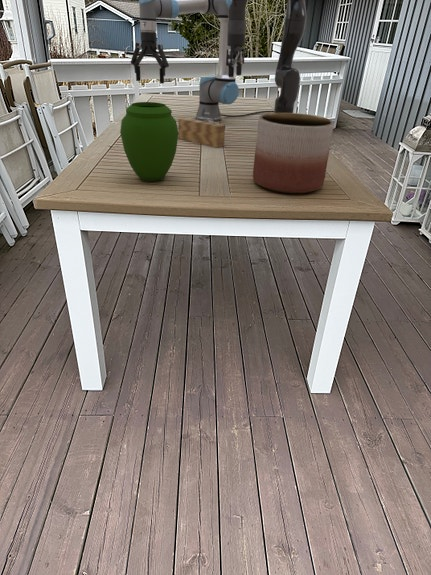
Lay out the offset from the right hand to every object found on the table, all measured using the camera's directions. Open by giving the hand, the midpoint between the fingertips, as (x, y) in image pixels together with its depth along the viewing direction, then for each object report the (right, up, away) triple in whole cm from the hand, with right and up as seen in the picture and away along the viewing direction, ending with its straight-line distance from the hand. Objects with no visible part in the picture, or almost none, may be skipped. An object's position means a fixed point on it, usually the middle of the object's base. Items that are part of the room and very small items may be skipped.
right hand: (234, 76), depth 180 cm
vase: (-32, -54, -34) cm, 71 cm away
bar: (-16, -23, +17) cm, 33 cm away
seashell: (-12, -15, +31) cm, 36 cm away
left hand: (-41, +9, +23) cm, 48 cm away
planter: (+17, -56, -32) cm, 67 cm away
